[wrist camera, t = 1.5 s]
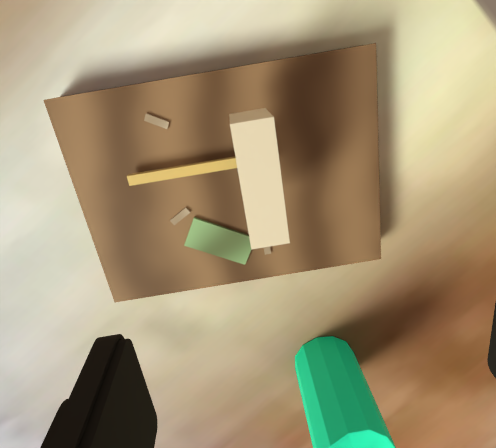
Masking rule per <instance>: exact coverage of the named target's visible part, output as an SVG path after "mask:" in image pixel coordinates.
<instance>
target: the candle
mask: <svg viewBox="0 0 496 448" xmlns="http://www.w3.org/2000/svg"><path fill="white" fill-rule="evenodd" d="M295 369H296V374H297V378H298V383H299V387H300V392H301V396H302V400H303V405H304V409H305V414H306V418H307V423H308V427H309V431H310V436H311V440H312V445H313V448H396V447H395V445H394V443H393V440H392V438H391V436H390V434H389V431H388V429H387V427H386V425H385V422H384V420H383V418H382V416H381V413H380V411H379V409H378V406H377V404H376V402H375V400H374V397H373V395H372V393H371V391H370V388H369V386H368V384H367V382H366V379H365V377H364V375H363V373H362V370H361V368H360V366H359V364H358V361H357V359H356V357H355V355H354V352H353V351H352V349H351V348H350V346H349V345H348V343H347V342H346V341H344V340H341V339H339V338H336V337H334V336H328V337H317V338H315V339H313V340H311V341H309V342H307V343H306V344H304V345H303V346H302V347H301V349H300V350H299V351H298V353H297V354H296V356H295Z"/></svg>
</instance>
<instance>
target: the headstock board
mask: <svg viewBox="0 0 496 448" xmlns="http://www.w3.org/2000/svg"><path fill="white" fill-rule="evenodd" d="M44 103H45V106H46V108H47V111H48V114H49V117H50V120H51V123H52V125H53V128H54V131H55V134H56V137H57V140H58V142H59V145H60V148H61V151H62V154H63V157H64V160H65V162H66V165H67V168H68V171H69V174H70V177H71V179H72V182H73V185H74V188H75V191H76V194H77V196H78V199H79V202H80V205H81V208H82V211H83V213H84V216H85V219H86V222H87V225H88V228H89V230H90V233H91V236H92V239H93V242H94V245H95V248H96V250H97V253H98V256H99V259H100V262H101V265H102V267H103V270H104V273H105V276H106V279H107V282H108V284H109V287H110V290H111V293H112V296H113V299H114V301H115V302H120V301H126V300H132V299H138V298H144V297H151V296H157V295H163V294H169V293H175V292H181V291H187V290H193V289H200V288H206V287H212V286H218V285H224V284H230V283H236V282H242V281H249V280H255V279H261V278H267V277H273V276H279V275H285V274H291V273H298V272H304V271H310V270H316V269H322V268H328V267H334V266H340V265H347V264H353V263H359V262H365V261H371V260H377V259H381V239H380V195H379V150H378V105H377V60H376V43H374V44H368V45H362V46H356V47H350V48H344V49H338V50H332V51H327V52H321V53H315V54H309V55H303V56H297V57H291V58H286V59H280V60H274V61H268V62H262V63H256V64H251V65H245V66H239V67H233V68H227V69H221V70H216V71H210V72H204V73H198V74H192V75H186V76H180V77H175V78H169V79H163V80H157V81H151V82H145V83H140V84H134V85H128V86H122V87H116V88H110V89H104V90H99V91H93V92H87V93H81V94H75V95H69V96H64V97H58V98H52V99H47V100H44ZM262 108H266V109H267V110H268V111H269V112H270V113H271V114H272V115H273V116H274V122H275V130H276V138H277V146H278V154H279V162H280V169H281V177H282V185H283V193H284V201H285V209H286V217H287V225H288V233H289V240H290V243H288V244H282V245H276V246H270V247H264V248H258V249H252V250H251V244H250V239H249V233H248V227H247V221H246V215H245V210H244V204H243V198H242V192H241V186H240V181H239V175H238V171H237V168H234V169H228V170H222V171H216V172H210V173H204V174H198V175H192V176H186V177H180V178H174V179H168V180H162V181H156V182H150V183H144V184H138V185H132V186H129V183H128V179H127V175H128V174H134V173H140V172H146V171H152V170H158V169H164V168H169V167H175V166H181V165H187V164H193V163H199V162H205V161H211V160H217V159H223V158H229V157H235V152H234V146H233V140H232V134H231V128H230V117H229V114H233V113H239V112H245V111H250V110H256V109H262Z"/></svg>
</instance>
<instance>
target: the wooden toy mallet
mask: <svg viewBox="0 0 496 448" xmlns="http://www.w3.org/2000/svg"><path fill="white" fill-rule="evenodd" d="M229 117H230V128H231V134H232V140H233V146H234V152H235V157H229V158H223V159H217V160H211V161H205V162H199V163H193V164H187V165H181V166H175V167H169V168H164V169H158V170H152V171H146V172H140V173H134V174H128V175H127V179H128V183H129V186H132V185H138V184H144V183H150V182H156V181H162V180H168V179H174V178H180V177H186V176H192V175H198V174H204V173H210V172H216V171H222V170H228V169H234V168H237V171H238V175H239V181H240V186H241V192H242V198H243V204H244V210H245V215H246V221H247V227H248V233H249V239H250V244H251V250H252V249H258V248H264V247H270V246H276V245H282V244H288V243H290V240H289V233H288V225H287V217H286V209H285V201H284V193H283V185H282V177H281V169H280V162H279V154H278V146H277V138H276V130H275V122H274V116H273V115H272V114H271V113H270V112H269V111H268V110H267V109H266V108H262V109H256V110H250V111H245V112H239V113H233V114H229Z"/></svg>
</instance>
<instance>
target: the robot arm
mask: <svg viewBox="0 0 496 448" xmlns="http://www.w3.org/2000/svg"><path fill="white" fill-rule="evenodd" d="M488 366H489V369H490V371H491V373H492V374H493V375H494V377H495V378H496V303H495V310H494V318H493V325H492V332H491V339H490V346H489V353H488ZM156 433H157V415H156V412H155V409H154V406H153V403H152V400H151V397H150V394H149V391H148V388H147V385H146V382H145V379H144V376H143V373H142V370H141V367H140V364H139V361H138V358H137V355H136V353H135V350H134V347H133V344H132V341H131V340H130V339H124V337H123V336H122V335H121V334H117V335H111V336H105V337H99V338H97V339H96V340H95V342H94V344H93V346H92V348H91V350H90V353H89V355H88V357H87V359H86V362H85V364H84V366H83V368H82V370H81V373H80V375H79V377H78V379H77V381H76V384H75V386H74V388H73V390H72V392H71V395H70V397H69V399H66V400H65V401H64V402H63V403H62V404H61V406H60V407H59V409H58V411H57V413H56V416H55V418H54V420H53V422H52V424H51V426H50V428H49V430H48V433H47V435H46V437H45V439H44V441H43V443H42V445H41V448H154V445H155V439H156Z"/></svg>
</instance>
